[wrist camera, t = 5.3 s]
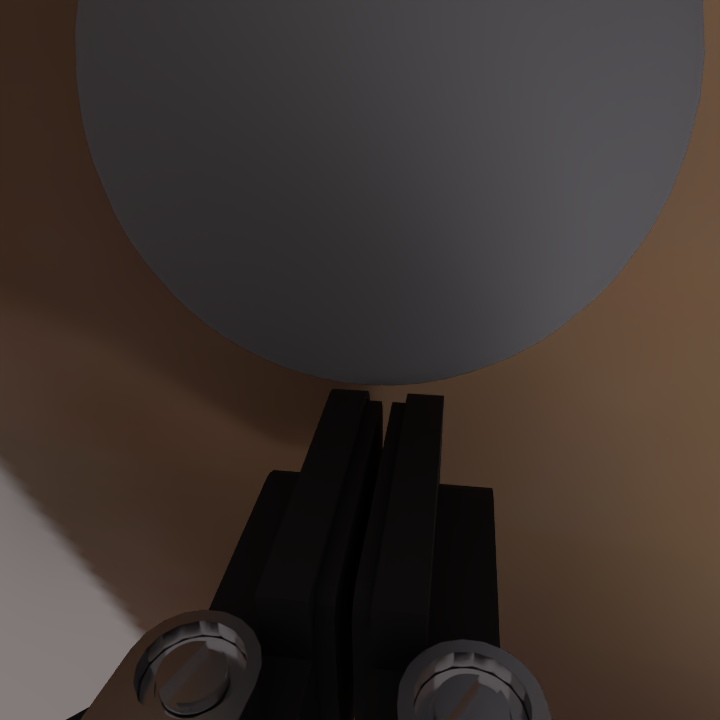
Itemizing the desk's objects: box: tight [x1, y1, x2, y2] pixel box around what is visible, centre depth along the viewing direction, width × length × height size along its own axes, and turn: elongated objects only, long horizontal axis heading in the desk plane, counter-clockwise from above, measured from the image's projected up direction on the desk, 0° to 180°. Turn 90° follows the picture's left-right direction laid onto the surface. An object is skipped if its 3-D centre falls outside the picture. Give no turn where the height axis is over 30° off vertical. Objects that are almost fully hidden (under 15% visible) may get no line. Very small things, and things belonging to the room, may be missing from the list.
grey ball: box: [75, 0, 705, 385], centre depth 6 cm, size 6×6×6 cm
